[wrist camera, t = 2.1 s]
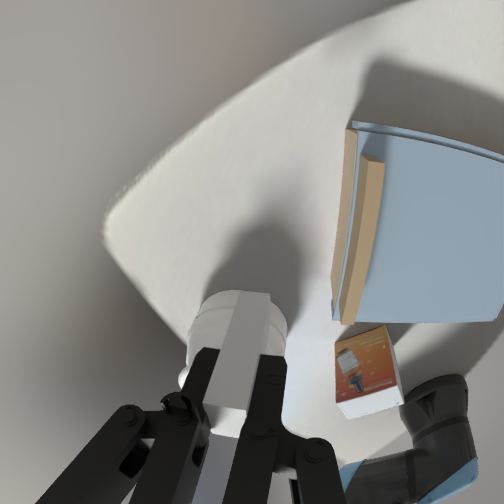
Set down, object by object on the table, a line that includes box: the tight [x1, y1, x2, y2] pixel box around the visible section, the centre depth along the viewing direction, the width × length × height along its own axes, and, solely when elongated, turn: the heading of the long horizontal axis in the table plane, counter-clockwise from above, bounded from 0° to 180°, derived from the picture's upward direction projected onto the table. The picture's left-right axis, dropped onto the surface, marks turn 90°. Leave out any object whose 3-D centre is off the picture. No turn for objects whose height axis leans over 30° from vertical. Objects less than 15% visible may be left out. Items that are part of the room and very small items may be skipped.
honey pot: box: [178, 290, 288, 389], centre depth 31 cm, size 13×13×18 cm
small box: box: [335, 325, 404, 420], centre depth 33 cm, size 8×6×10 cm
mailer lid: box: [331, 120, 504, 325], centre depth 21 cm, size 19×22×6 cm
